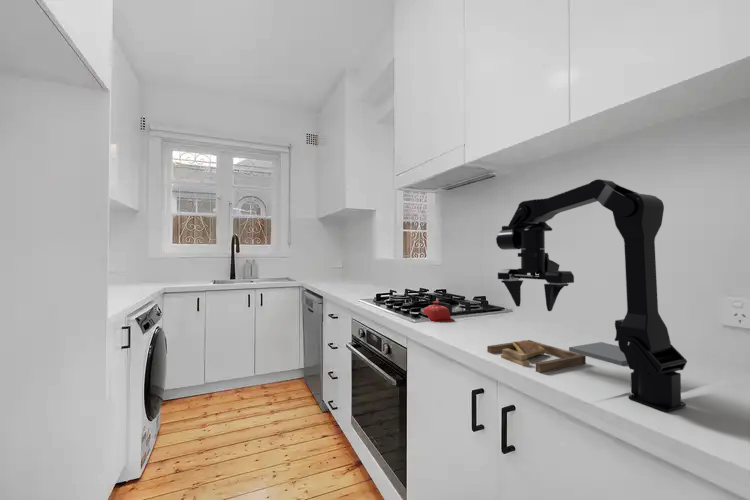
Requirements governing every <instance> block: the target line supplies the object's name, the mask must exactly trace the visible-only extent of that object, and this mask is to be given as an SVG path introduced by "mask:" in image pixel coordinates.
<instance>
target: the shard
mask: <svg viewBox="0 0 750 500" xmlns="http://www.w3.org/2000/svg"><path fill="white" fill-rule="evenodd" d="M512 342H513V346H514V347H515V348H516V349H517V350H516V351H518V352H521V353H524V354H527V359H529V358H533V357H535V356H538V355H544V354H546V353H545V352H546V350H545V349H544V348H542V347H541V346H539V345H537V344H534V343H531V342H529V341H526V340H520V341H519V340H518V341H512Z"/></svg>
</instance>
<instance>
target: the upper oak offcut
mask: <svg viewBox="0 0 750 500" xmlns="http://www.w3.org/2000/svg"><path fill="white" fill-rule="evenodd" d="M501 355H503V356H506V357H509V358H512V359H515V360H518V361H521V362H522V361H526V360H528V358H527V354H524V353H521V352H518V350H511V349H508V348H507V349H502V352H501Z"/></svg>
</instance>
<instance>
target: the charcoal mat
mask: <svg viewBox="0 0 750 500" xmlns="http://www.w3.org/2000/svg"><path fill="white" fill-rule="evenodd" d="M568 351H570V352H573V353H577V354H581V355H584V356H587V357H590V358H593V359H598V360H602V361H604V362H607V363H610V364H611V363H612V364H615V365H618V366H625V365H628V363H627V360H626V357H625V355H624V353H623V352H622V351H621V350H620V348H619V345H616V344H611V343H607V342H602V341H599V342H593V343H588V344H581V345H576V346H569V348H568Z"/></svg>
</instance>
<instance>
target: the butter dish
mask: <svg viewBox="0 0 750 500" xmlns="http://www.w3.org/2000/svg"><path fill="white" fill-rule="evenodd" d="M423 313H424V314H426V315H427V316H428V318H429V319H430V320H431V321H429V320H428V322H429V323H431V322H433V321H434V322H433V323H442V322H443V323H444V322H445V323H446V322H453V321H455V318H452V317H451V313H450V309H449V308H448V307H446V306H444V305H442V304H441V305H440V301H439V300H435V301H432V305H428V306H426V307H424V308H423ZM423 313H422V314H423Z"/></svg>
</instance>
